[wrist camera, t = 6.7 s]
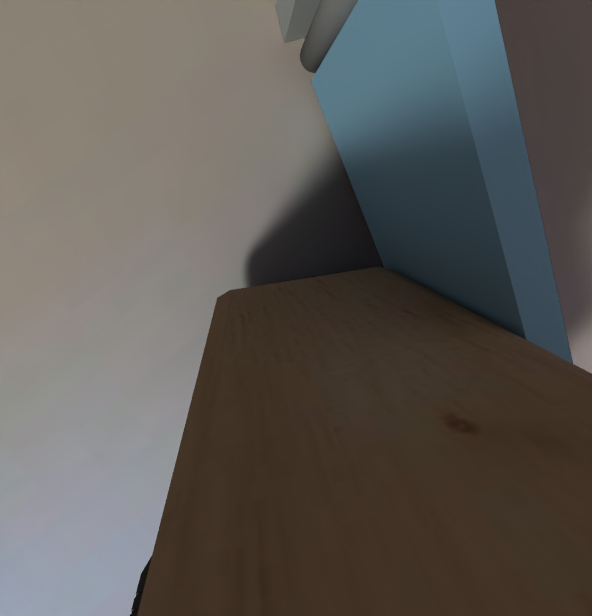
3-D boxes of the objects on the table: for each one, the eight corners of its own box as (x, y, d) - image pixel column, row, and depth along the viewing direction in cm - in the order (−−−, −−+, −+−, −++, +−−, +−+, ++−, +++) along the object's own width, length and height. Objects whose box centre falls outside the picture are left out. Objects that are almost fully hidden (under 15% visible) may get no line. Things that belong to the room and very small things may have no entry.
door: (295, 47, 17) (390, -229, 6) (356, 15, 17) (569, -323, 6) (451, 442, 26) (609, 633, 15) (492, 422, 26) (682, 599, 15)
